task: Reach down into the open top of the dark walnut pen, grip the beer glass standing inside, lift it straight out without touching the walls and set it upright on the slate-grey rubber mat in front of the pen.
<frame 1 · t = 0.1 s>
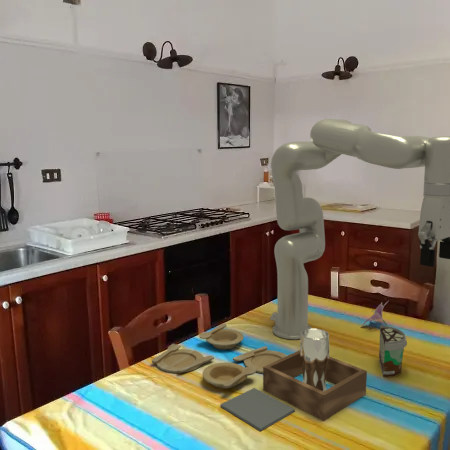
hand: (436, 261, 114), 31 cm above the table, tool pointing down, fingers open, 9 cm apart
grey mat: (257, 409, 109), on the table
beer glass: (313, 392, 116), resting in walnut pen
lily: (376, 327, 156), on the table
walnut pen: (313, 391, 116), on the table
food container: (393, 370, 127), on the table
tableware set: (224, 364, 133), on the table
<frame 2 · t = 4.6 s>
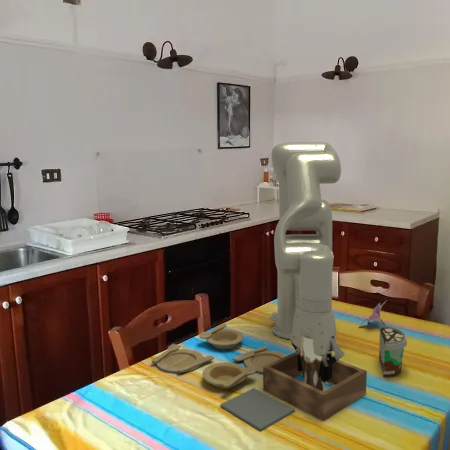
hand: (314, 373, 115), 5 cm above the table, tool pointing down, fingers closed on beer glass, 6 cm apart
beer glass: (313, 392, 116), resting in walnut pen, touching gripper
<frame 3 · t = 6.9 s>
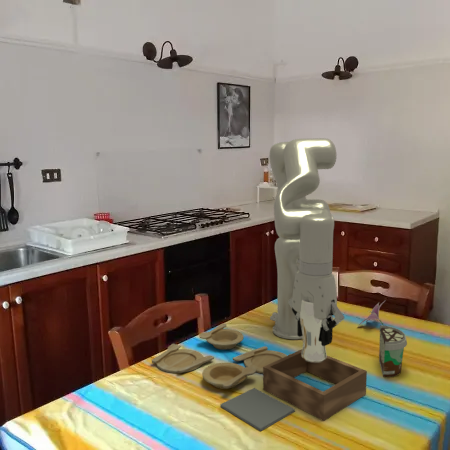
hand: (314, 338, 115), 13 cm above the table, tool pointing down, fingers closed on beer glass, 6 cm apart
beer glass: (313, 357, 116), point 9 cm above the table, touching gripper
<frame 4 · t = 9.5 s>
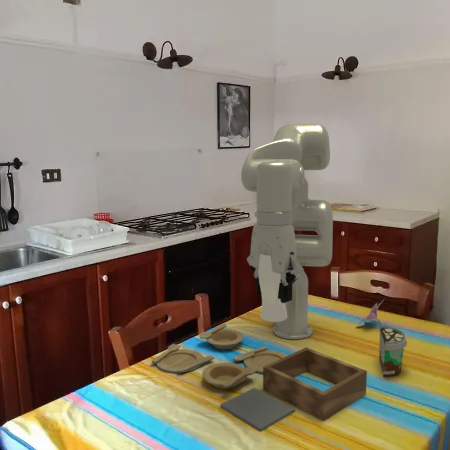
hand: (273, 297, 107), 26 cm above the table, tool pointing down, fingers closed on beer glass, 6 cm apart
beer glass: (274, 318, 108), point 21 cm above the table, touching gripper
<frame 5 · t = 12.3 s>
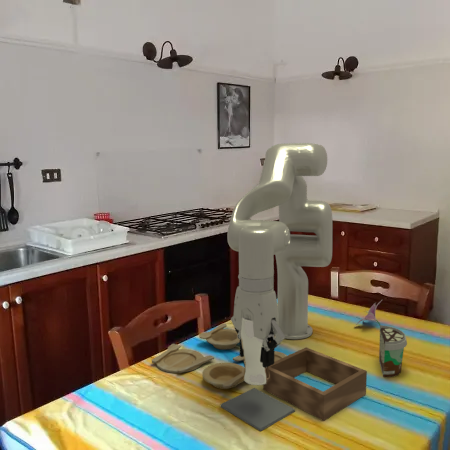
hand: (256, 359, 107), 12 cm above the table, tool pointing down, fingers closed on beer glass, 6 cm apart
beer glass: (256, 379, 108), point 7 cm above the table, touching gripper
when the fingers open (6 cm above the table, at t = 14.5 s): beer glass stays where it is, resting on grey mat.
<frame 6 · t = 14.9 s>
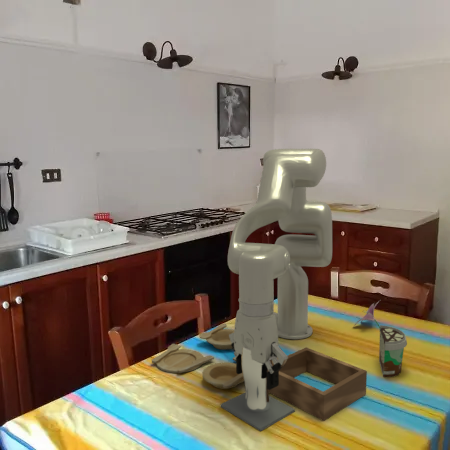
hand: (256, 379, 108), 7 cm above the table, tool pointing down, fingers open, 9 cm apart
beer glass: (257, 406, 110), resting on grey mat
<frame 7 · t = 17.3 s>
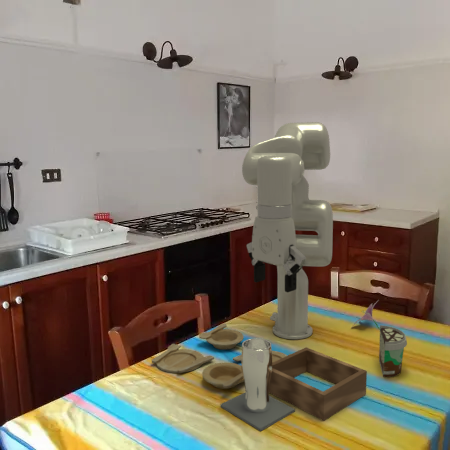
hand: (274, 285, 109), 28 cm above the table, tool pointing down, fingers open, 9 cm apart
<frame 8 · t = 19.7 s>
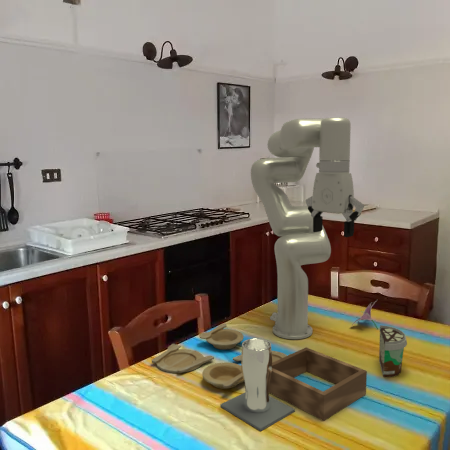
hand: (332, 234, 124), 36 cm above the table, tool pointing down, fingers open, 9 cm apart
at the end: beer glass 0.4 cm off-centre on the grey mat, point 0.4 cm above the grey mat's base; beer glass tilted 0°; beer glass touching grey mat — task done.
